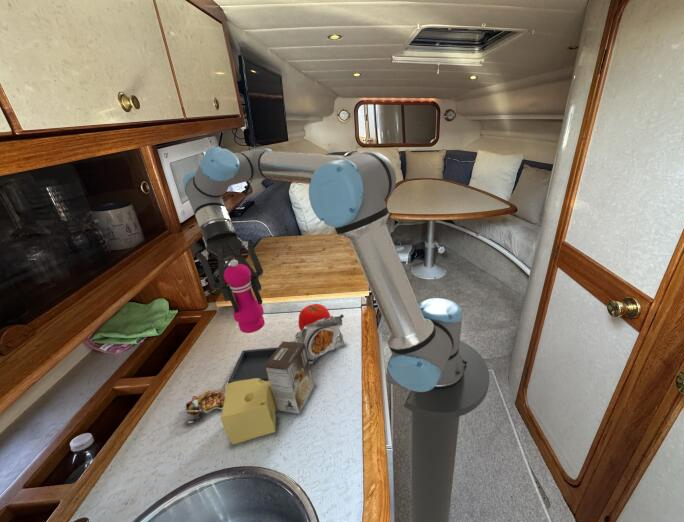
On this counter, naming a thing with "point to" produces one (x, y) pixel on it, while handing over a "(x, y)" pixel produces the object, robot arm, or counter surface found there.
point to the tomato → (312, 314)
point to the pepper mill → (244, 298)
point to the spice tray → (252, 365)
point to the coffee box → (290, 376)
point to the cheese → (248, 410)
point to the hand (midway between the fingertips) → (248, 306)
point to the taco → (205, 404)
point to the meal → (321, 336)
